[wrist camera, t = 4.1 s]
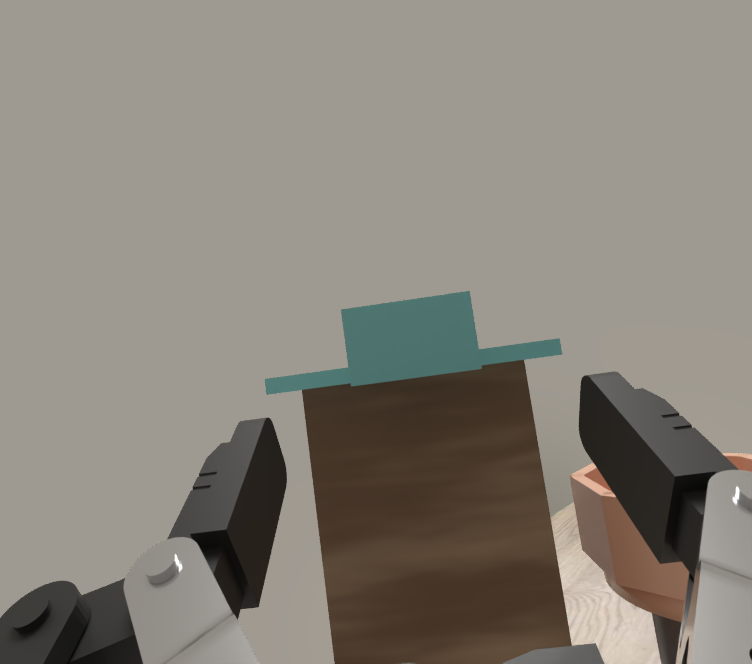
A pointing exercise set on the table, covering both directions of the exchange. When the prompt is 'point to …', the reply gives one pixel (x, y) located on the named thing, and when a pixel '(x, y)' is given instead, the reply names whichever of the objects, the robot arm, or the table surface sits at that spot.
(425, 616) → the wooden block
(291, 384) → the cover
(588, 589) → the table surface
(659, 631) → the bowl
